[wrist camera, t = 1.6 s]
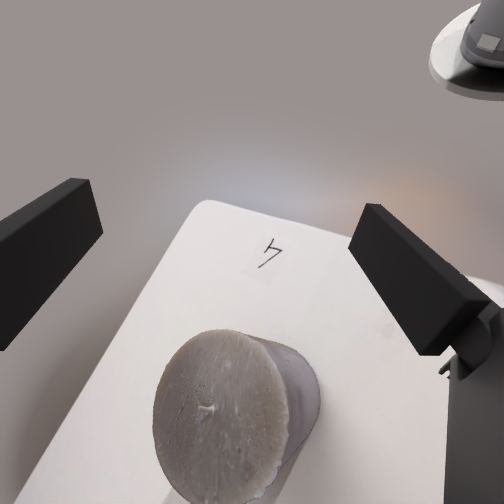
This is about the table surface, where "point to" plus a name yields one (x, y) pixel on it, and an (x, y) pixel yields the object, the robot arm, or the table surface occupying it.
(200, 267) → the table surface
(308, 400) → the pillar candle
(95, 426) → the table surface
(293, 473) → the table surface
